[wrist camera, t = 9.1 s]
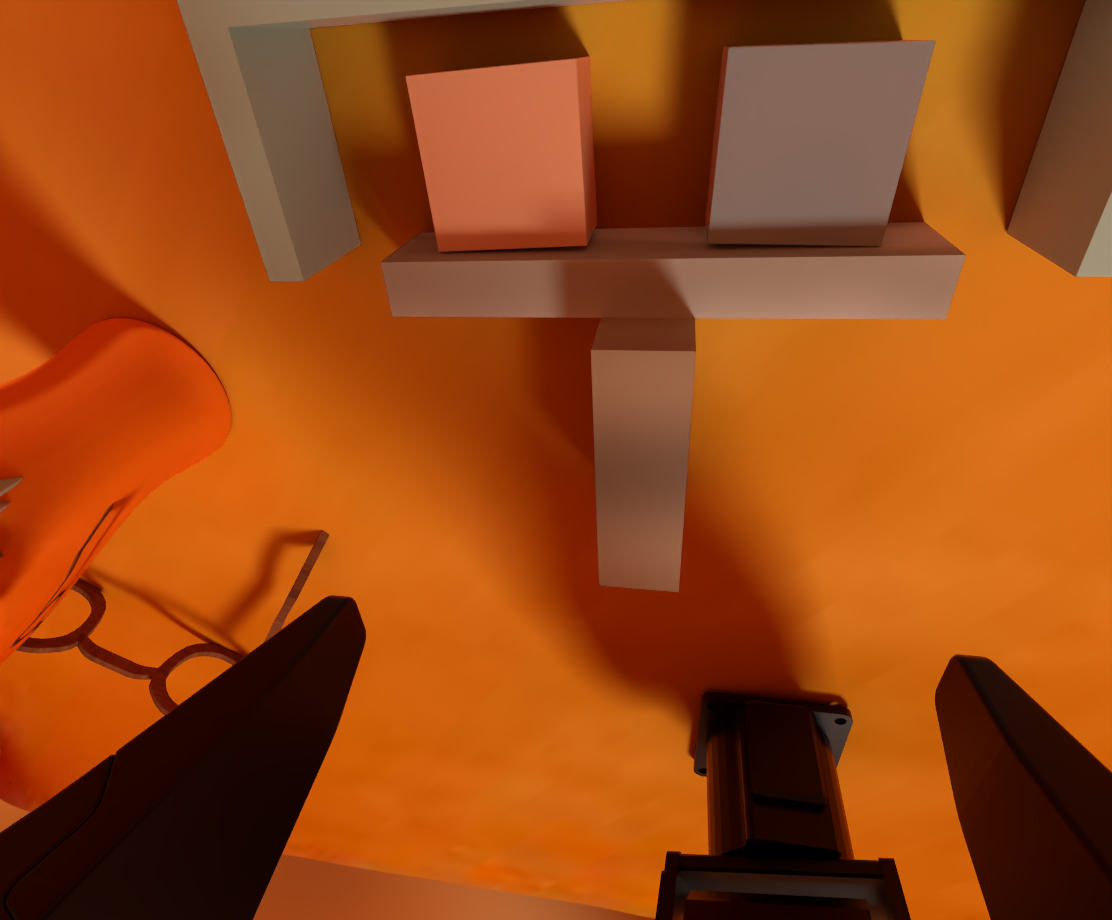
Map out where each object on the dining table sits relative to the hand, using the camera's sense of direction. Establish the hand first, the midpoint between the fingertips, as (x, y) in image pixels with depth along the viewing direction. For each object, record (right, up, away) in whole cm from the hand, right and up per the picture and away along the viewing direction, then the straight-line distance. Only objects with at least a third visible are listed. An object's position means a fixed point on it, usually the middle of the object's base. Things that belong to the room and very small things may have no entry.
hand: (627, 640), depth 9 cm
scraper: (+2, +6, +11) cm, 12 cm away
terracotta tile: (-2, +11, +7) cm, 14 cm away
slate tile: (+5, +11, +6) cm, 14 cm away
